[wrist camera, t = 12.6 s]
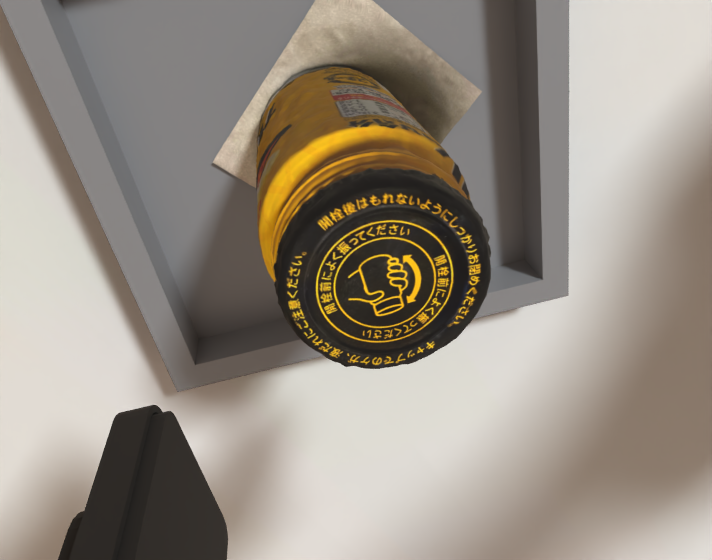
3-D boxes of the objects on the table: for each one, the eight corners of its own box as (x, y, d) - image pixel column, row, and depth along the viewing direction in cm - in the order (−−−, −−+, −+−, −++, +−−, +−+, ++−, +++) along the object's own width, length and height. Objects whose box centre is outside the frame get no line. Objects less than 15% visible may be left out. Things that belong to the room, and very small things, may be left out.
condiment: (212, 160, 23) (180, 327, 13) (334, -32, 21) (415, -11, 10) (356, 248, 26) (422, 440, 16) (479, 89, 24) (654, 198, 13)
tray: (-6, -77, 19) (-39, -80, 17) (534, -192, 20) (569, -209, 18) (183, 358, 28) (177, 392, 26) (545, 269, 29) (568, 295, 27)
